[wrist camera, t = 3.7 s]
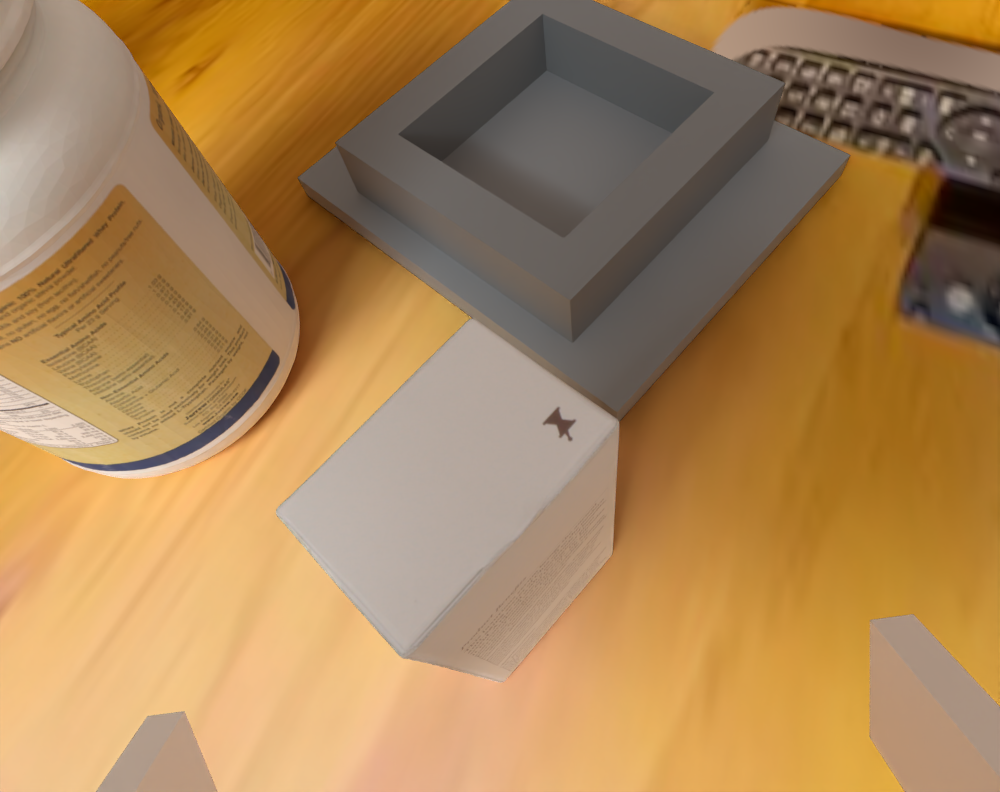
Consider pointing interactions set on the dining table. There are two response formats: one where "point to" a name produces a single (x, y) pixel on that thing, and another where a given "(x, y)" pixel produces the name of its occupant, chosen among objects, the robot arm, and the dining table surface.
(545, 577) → the skincare box
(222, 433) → the supplement tub
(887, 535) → the dining table surface
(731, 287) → the slate stand
